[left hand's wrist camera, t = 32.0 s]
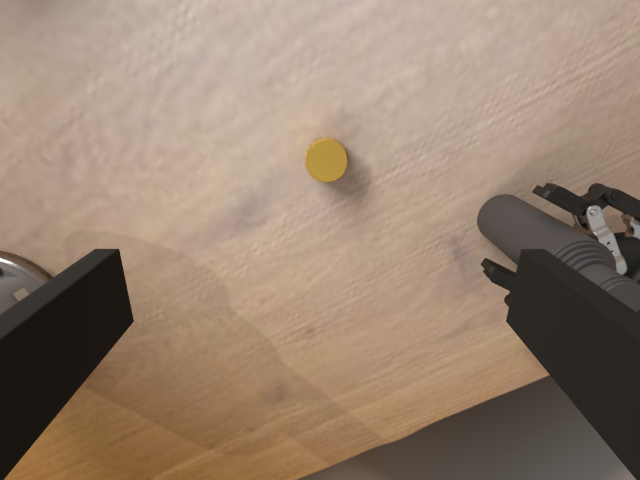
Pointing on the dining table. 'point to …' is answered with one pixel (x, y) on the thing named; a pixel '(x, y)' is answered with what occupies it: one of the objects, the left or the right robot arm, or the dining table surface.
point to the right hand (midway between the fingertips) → (512, 228)
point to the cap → (326, 160)
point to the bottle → (554, 244)
